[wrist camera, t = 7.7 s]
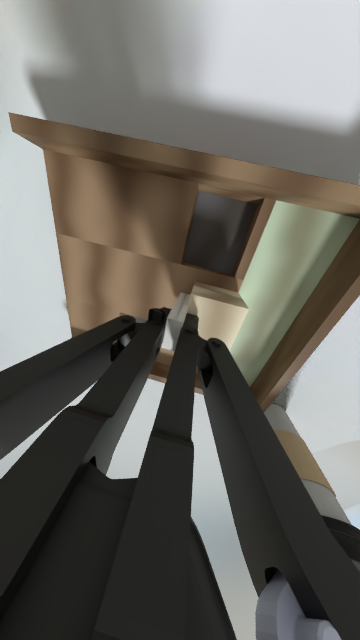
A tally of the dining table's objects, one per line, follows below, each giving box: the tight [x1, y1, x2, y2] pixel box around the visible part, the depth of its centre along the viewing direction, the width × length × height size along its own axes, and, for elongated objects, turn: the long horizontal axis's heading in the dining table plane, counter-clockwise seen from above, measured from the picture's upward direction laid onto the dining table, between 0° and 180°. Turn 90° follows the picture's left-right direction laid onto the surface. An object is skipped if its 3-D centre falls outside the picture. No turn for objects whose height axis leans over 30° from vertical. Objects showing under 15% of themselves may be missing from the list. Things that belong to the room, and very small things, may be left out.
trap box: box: [8, 112, 360, 412], centre depth 18 cm, size 30×24×6 cm
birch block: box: [187, 282, 249, 351], centre depth 16 cm, size 5×5×5 cm
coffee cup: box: [264, 403, 360, 571], centre depth 21 cm, size 9×9×15 cm
